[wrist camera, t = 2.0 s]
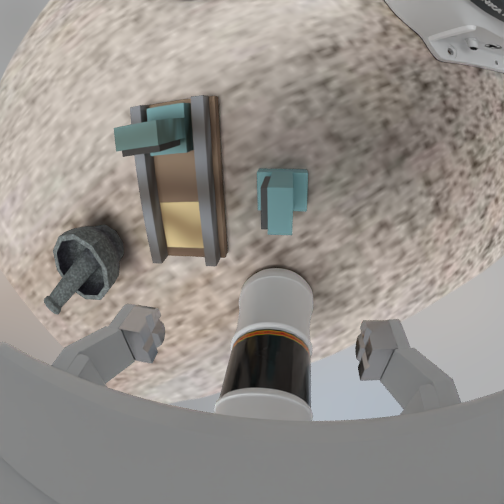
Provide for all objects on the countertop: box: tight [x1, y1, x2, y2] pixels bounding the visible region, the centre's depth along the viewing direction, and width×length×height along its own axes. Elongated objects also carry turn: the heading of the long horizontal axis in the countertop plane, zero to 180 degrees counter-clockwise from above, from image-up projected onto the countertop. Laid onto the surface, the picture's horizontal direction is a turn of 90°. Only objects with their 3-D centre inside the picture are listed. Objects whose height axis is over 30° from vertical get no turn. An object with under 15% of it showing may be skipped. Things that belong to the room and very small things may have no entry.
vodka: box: [214, 268, 314, 421], centre depth 22 cm, size 9×9×30 cm
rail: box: [114, 95, 228, 266], centre depth 26 cm, size 18×9×10 cm, turn 2°
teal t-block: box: [257, 169, 308, 235], centre depth 25 cm, size 5×4×8 cm
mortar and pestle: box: [44, 225, 124, 314], centre depth 31 cm, size 11×9×12 cm
